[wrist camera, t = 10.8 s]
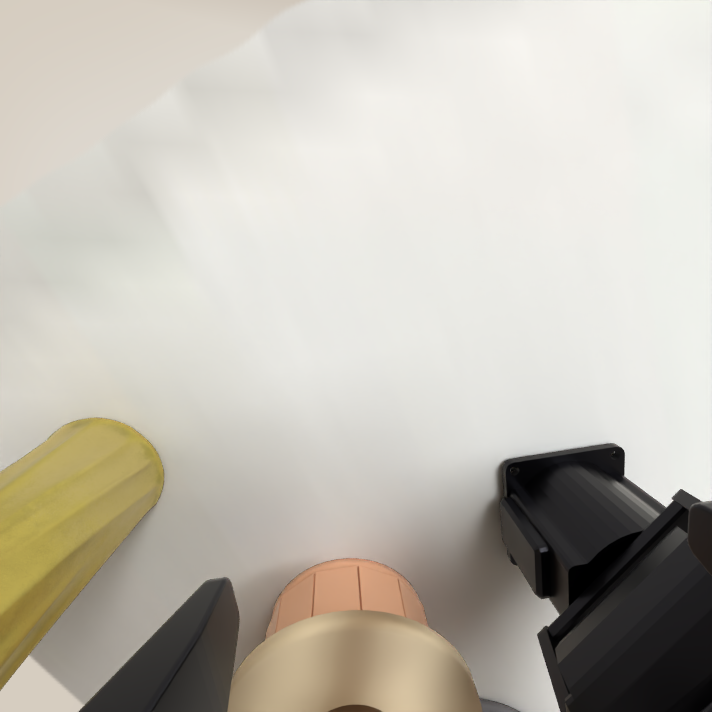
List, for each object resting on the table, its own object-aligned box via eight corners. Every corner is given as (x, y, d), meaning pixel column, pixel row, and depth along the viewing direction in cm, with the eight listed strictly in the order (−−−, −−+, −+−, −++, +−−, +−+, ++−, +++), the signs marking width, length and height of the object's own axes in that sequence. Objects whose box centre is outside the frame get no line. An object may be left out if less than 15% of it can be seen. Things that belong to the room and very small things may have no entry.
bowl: (414, 545, 23) (435, 622, 18) (429, 668, 25) (451, 766, 20) (258, 570, 23) (237, 655, 18) (286, 691, 25) (274, 796, 20)
